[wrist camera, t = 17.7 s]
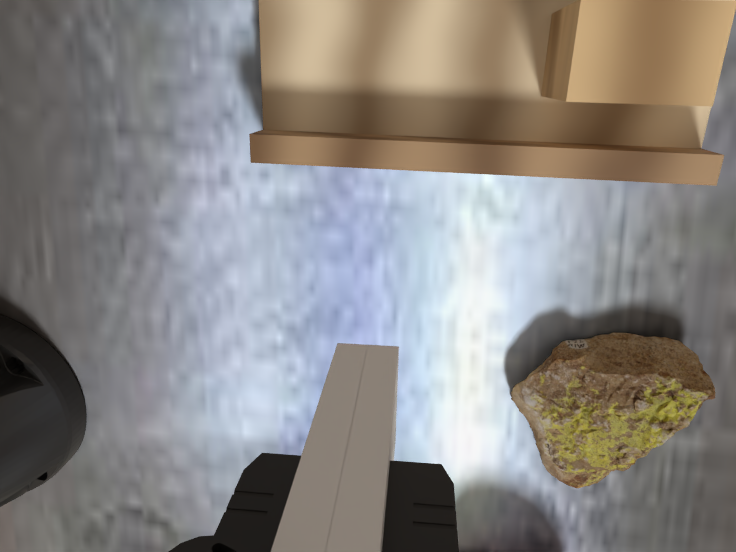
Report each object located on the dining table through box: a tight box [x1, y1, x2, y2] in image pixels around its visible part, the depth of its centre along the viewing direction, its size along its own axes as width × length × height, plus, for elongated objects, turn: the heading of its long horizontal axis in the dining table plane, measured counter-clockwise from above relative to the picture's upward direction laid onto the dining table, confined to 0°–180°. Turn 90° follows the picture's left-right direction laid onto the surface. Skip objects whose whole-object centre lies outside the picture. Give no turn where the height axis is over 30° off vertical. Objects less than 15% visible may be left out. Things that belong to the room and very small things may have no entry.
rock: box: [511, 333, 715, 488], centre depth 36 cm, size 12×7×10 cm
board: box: [250, 0, 736, 185], centre depth 29 cm, size 24×12×4 cm, turn 88°
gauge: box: [541, 0, 736, 106], centre depth 25 cm, size 6×8×6 cm
